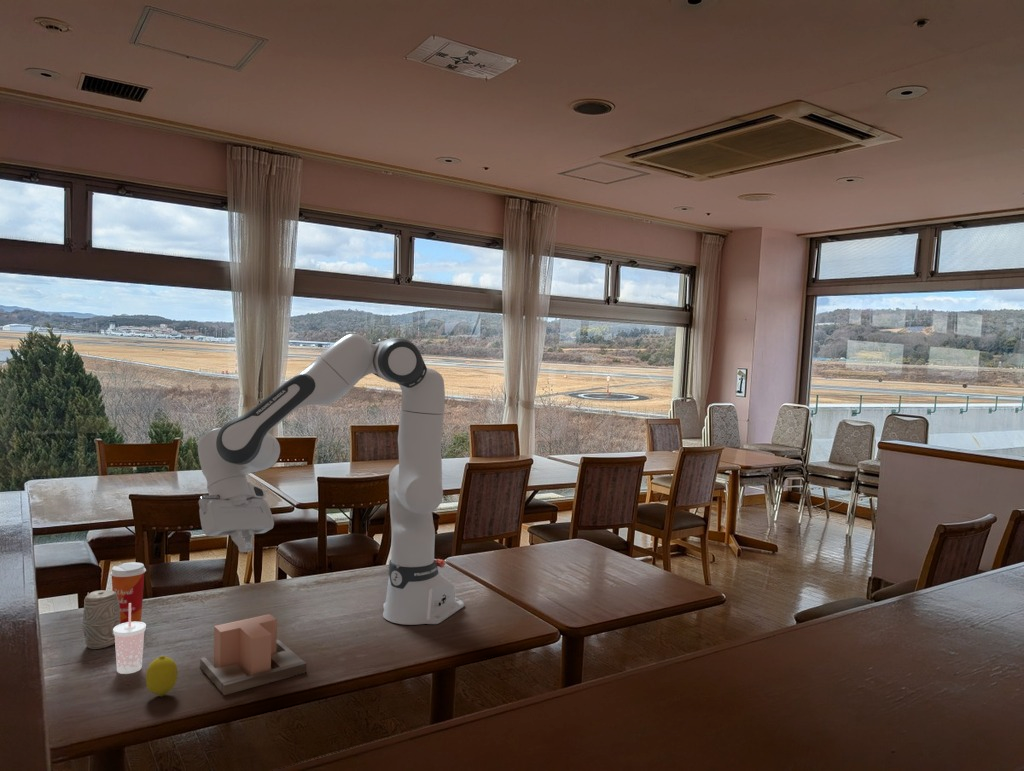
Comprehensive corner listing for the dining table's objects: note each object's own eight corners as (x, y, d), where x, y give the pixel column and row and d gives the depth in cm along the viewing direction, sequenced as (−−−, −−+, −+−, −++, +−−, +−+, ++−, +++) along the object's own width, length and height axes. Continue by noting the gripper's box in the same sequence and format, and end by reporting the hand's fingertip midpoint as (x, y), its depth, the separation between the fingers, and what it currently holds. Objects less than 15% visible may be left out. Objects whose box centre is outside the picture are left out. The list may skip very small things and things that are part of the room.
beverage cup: (147, 671, 151) (148, 605, 150) (114, 678, 147) (114, 610, 147) (144, 660, 156) (144, 596, 155) (111, 666, 152) (112, 601, 152)
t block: (213, 667, 154) (214, 625, 153) (269, 653, 161) (269, 613, 161) (231, 687, 145) (232, 643, 145) (289, 671, 153) (289, 629, 152)
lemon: (152, 689, 143) (153, 649, 143) (181, 689, 144) (182, 649, 143) (140, 703, 138) (141, 662, 137) (170, 702, 138) (171, 662, 138)
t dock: (200, 667, 153) (200, 658, 153) (278, 648, 164) (278, 639, 164) (224, 695, 142) (224, 685, 142) (306, 672, 153) (306, 663, 153)
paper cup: (102, 626, 173) (102, 568, 172) (129, 615, 180) (129, 559, 179) (126, 631, 170) (127, 573, 169) (153, 620, 177) (153, 564, 177)
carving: (77, 646, 161) (77, 593, 161) (112, 636, 167) (112, 585, 167) (89, 654, 157) (90, 600, 157) (125, 644, 163) (125, 592, 163)
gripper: (208, 488, 159) (225, 548, 155) (269, 490, 178) (286, 543, 174) (186, 500, 160) (203, 559, 156) (249, 501, 179) (265, 554, 175)
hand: (247, 551), depth 165 cm, fingers closed
